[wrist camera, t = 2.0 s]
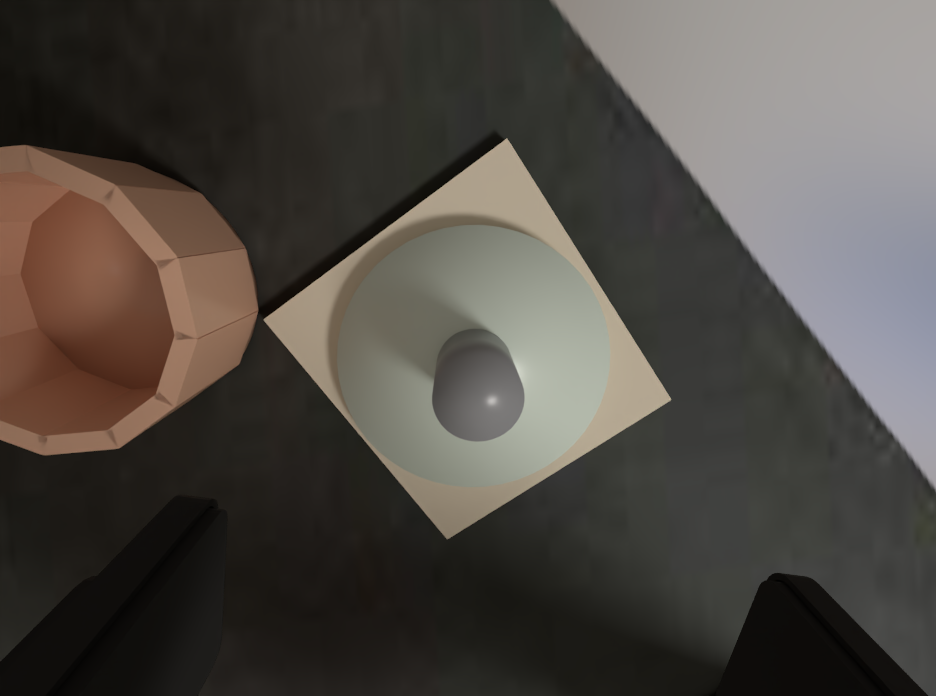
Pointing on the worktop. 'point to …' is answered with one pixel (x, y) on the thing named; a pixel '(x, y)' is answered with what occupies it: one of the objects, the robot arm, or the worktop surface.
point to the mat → (456, 203)
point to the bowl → (110, 299)
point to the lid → (473, 356)
